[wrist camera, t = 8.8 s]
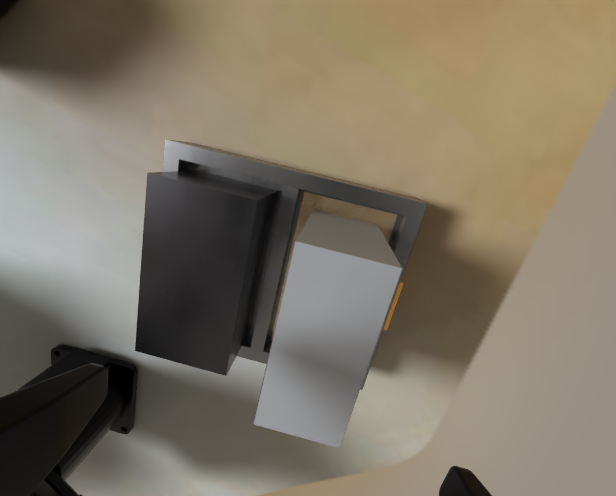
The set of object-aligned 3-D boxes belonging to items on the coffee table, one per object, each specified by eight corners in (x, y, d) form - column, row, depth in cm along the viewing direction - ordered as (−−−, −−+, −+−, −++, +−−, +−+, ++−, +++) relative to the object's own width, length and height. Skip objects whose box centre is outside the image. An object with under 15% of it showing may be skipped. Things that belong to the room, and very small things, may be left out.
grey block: (340, 346, 19) (340, 448, 12) (283, 331, 19) (252, 424, 12) (378, 225, 16) (403, 268, 10) (313, 208, 17) (294, 240, 10)
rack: (362, 365, 21) (370, 436, 15) (170, 313, 21) (111, 365, 16) (419, 198, 17) (455, 216, 12) (188, 142, 18) (121, 134, 12)
